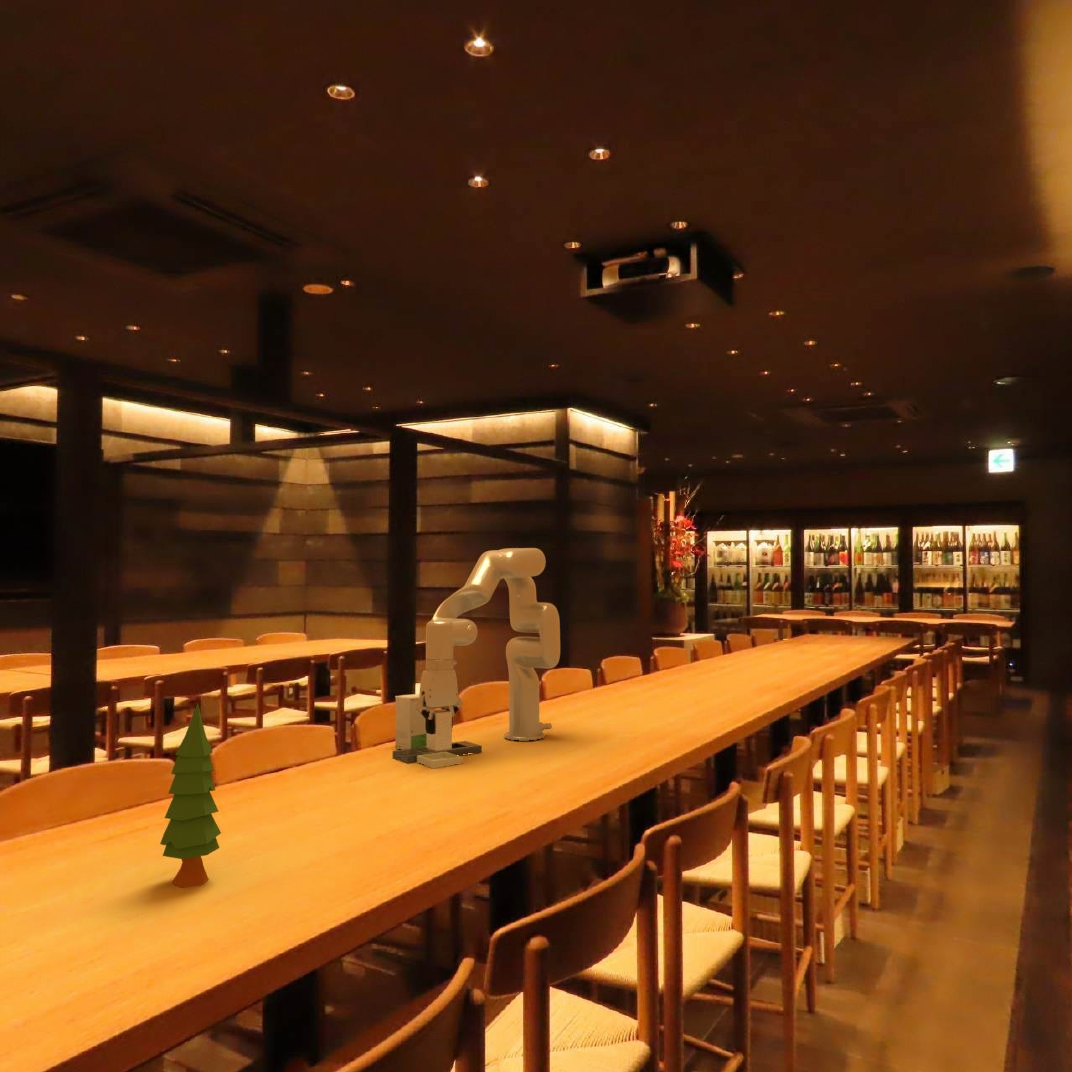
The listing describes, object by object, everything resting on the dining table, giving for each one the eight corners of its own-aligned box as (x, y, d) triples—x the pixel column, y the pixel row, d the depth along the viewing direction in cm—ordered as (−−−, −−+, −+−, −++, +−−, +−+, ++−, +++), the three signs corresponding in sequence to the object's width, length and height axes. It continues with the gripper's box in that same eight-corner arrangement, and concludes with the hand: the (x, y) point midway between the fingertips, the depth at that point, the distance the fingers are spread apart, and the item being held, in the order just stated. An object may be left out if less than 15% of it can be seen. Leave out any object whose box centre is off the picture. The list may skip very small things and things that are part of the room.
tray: (445, 758, 250) (445, 751, 250) (462, 764, 243) (462, 757, 243) (416, 762, 245) (416, 755, 245) (433, 768, 238) (433, 761, 238)
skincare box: (409, 751, 259) (409, 697, 260) (393, 749, 263) (393, 696, 264) (429, 747, 266) (429, 694, 267) (413, 744, 270) (414, 692, 271)
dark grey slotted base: (465, 747, 265) (465, 740, 265) (481, 752, 258) (481, 745, 258) (392, 758, 251) (392, 750, 251) (407, 763, 244) (407, 755, 244)
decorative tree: (226, 872, 156) (228, 699, 158) (209, 891, 147) (211, 707, 148) (170, 872, 156) (172, 700, 157) (149, 892, 147) (151, 708, 148)
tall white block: (442, 745, 247) (442, 708, 248) (451, 748, 243) (451, 710, 244) (426, 747, 244) (426, 710, 245) (435, 750, 240) (435, 712, 241)
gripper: (458, 662, 253) (458, 727, 252) (405, 666, 243) (404, 733, 242) (473, 664, 247) (472, 731, 246) (418, 668, 237) (418, 738, 236)
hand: (439, 731), depth 244 cm, fingers closed on tall white block, 5 cm apart
